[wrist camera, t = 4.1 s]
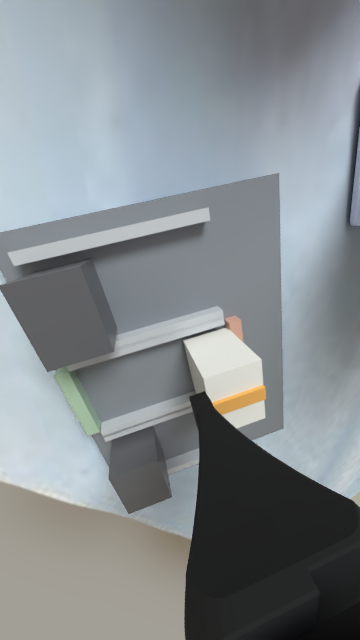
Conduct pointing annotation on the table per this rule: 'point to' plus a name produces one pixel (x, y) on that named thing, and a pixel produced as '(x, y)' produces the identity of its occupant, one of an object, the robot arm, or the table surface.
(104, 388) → the breaker board
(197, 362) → the handle
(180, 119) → the table surface
